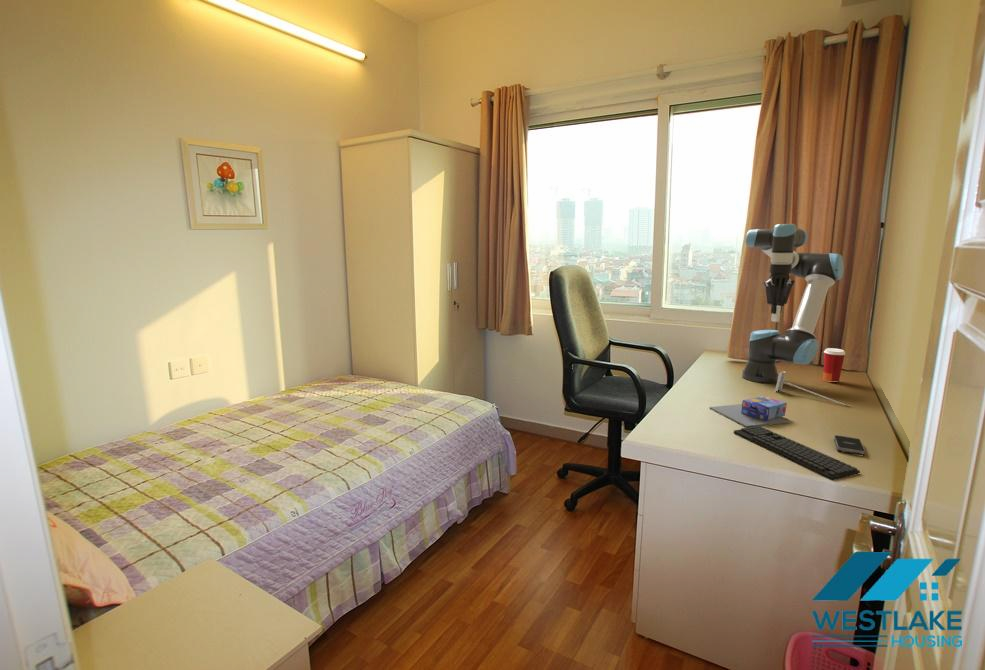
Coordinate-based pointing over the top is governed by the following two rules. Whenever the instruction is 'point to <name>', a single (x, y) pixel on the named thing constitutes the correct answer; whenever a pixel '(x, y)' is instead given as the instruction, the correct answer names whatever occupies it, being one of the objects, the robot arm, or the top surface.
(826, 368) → the coffee cup
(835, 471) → the keyboard
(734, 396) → the top surface
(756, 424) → the mat
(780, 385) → the brush
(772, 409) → the ink cartridge box
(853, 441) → the external hard drive
